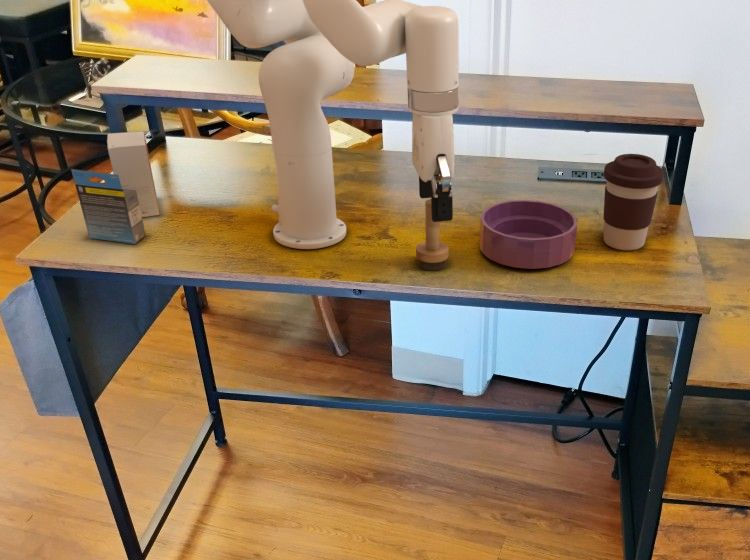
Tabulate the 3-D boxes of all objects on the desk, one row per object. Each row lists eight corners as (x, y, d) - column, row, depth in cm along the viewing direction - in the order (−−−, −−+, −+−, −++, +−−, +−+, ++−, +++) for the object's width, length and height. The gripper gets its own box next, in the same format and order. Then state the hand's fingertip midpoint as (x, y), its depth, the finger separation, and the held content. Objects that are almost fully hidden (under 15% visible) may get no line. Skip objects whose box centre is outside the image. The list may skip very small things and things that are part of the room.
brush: (409, 264, 138) (408, 201, 132) (432, 253, 141) (432, 192, 135) (432, 274, 135) (432, 211, 129) (455, 264, 139) (456, 201, 132)
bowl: (460, 251, 143) (460, 218, 139) (519, 223, 153) (522, 192, 149) (534, 282, 134) (536, 248, 131) (592, 251, 144) (596, 219, 141)
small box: (160, 215, 151) (146, 144, 143) (122, 219, 149) (106, 148, 141) (158, 199, 157) (144, 130, 149) (122, 202, 155) (106, 133, 147)
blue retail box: (147, 235, 144) (132, 166, 137) (135, 245, 141) (119, 175, 133) (100, 229, 145) (83, 160, 138) (87, 238, 142) (69, 168, 135)
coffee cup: (614, 226, 153) (625, 145, 145) (662, 242, 148) (676, 159, 140) (584, 243, 147) (594, 160, 138) (633, 260, 142) (646, 175, 133)
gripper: (398, 85, 129) (402, 190, 138) (419, 117, 115) (423, 232, 125) (445, 82, 130) (446, 187, 140) (472, 114, 117) (471, 228, 126)
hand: (435, 208), depth 132 cm, fingers open, 9 cm apart
